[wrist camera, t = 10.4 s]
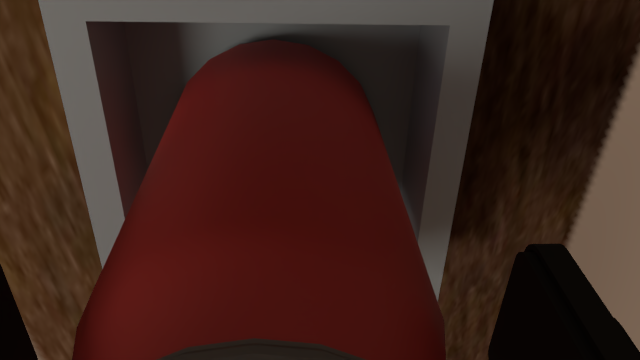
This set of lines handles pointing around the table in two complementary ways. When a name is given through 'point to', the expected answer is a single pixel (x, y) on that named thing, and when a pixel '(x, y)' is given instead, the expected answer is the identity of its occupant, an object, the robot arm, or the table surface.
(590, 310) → the robot arm
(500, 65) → the table surface
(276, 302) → the beer can
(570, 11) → the table surface
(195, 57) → the tray
